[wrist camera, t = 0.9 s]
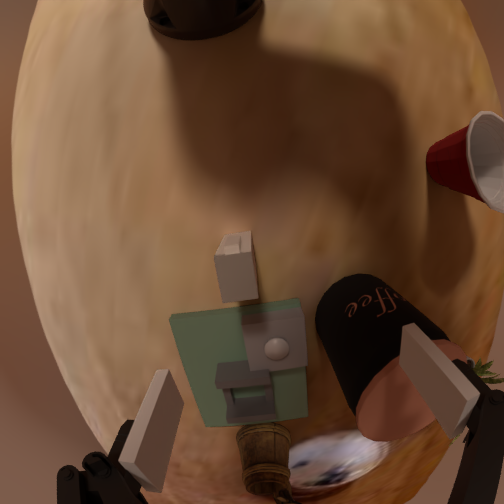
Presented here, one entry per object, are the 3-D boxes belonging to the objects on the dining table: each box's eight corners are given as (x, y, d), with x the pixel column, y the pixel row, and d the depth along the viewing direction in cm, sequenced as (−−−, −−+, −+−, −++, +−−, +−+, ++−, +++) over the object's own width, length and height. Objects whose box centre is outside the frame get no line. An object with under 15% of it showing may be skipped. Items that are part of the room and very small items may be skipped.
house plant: (390, 400, 39) (428, 467, 23) (411, 332, 36) (472, 398, 20) (450, 383, 39) (493, 435, 23) (473, 320, 36) (532, 367, 20)
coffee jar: (399, 279, 34) (486, 346, 16) (370, 348, 36) (426, 437, 19) (328, 261, 33) (398, 337, 15) (302, 338, 35) (335, 444, 18)
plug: (223, 228, 32) (212, 248, 22) (249, 224, 32) (249, 242, 22) (230, 268, 33) (222, 303, 23) (255, 264, 33) (258, 298, 23)
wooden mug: (270, 464, 43) (275, 540, 25) (226, 433, 40) (219, 522, 23) (310, 448, 41) (326, 527, 24) (270, 414, 39) (278, 510, 21)
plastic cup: (449, 115, 28) (507, 102, 17) (474, 185, 31) (532, 192, 19) (397, 136, 29) (456, 121, 18) (425, 214, 32) (487, 230, 20)
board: (171, 314, 34) (160, 335, 29) (298, 298, 34) (306, 318, 29) (207, 420, 39) (203, 445, 34) (306, 410, 39) (312, 434, 33)
